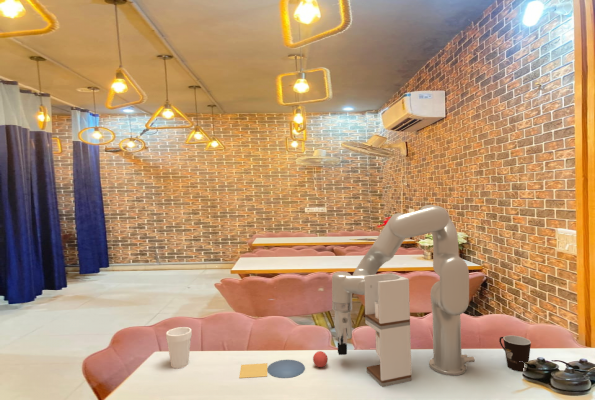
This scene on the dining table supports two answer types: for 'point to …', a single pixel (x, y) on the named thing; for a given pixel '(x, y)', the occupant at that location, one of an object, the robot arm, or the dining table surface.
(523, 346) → the coffee mug
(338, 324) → the robot arm
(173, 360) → the foam cup
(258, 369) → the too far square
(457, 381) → the dining table surface
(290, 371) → the disc
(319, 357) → the ball
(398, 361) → the display case
